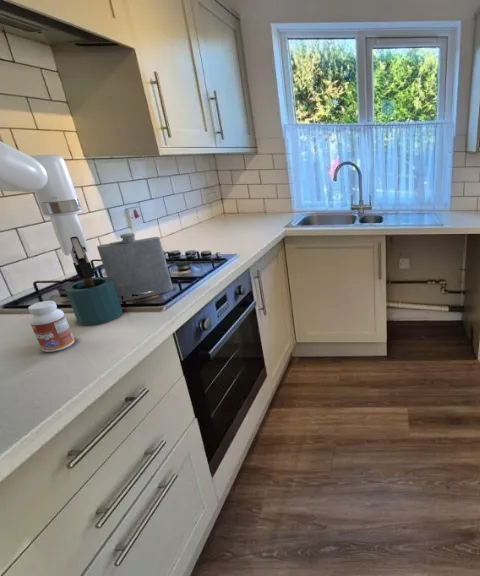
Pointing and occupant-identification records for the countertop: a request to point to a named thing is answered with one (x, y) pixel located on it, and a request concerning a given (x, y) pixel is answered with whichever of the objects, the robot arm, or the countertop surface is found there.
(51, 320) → the pill bottle
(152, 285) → the hip flask
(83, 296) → the jar
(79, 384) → the countertop surface
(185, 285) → the countertop surface
